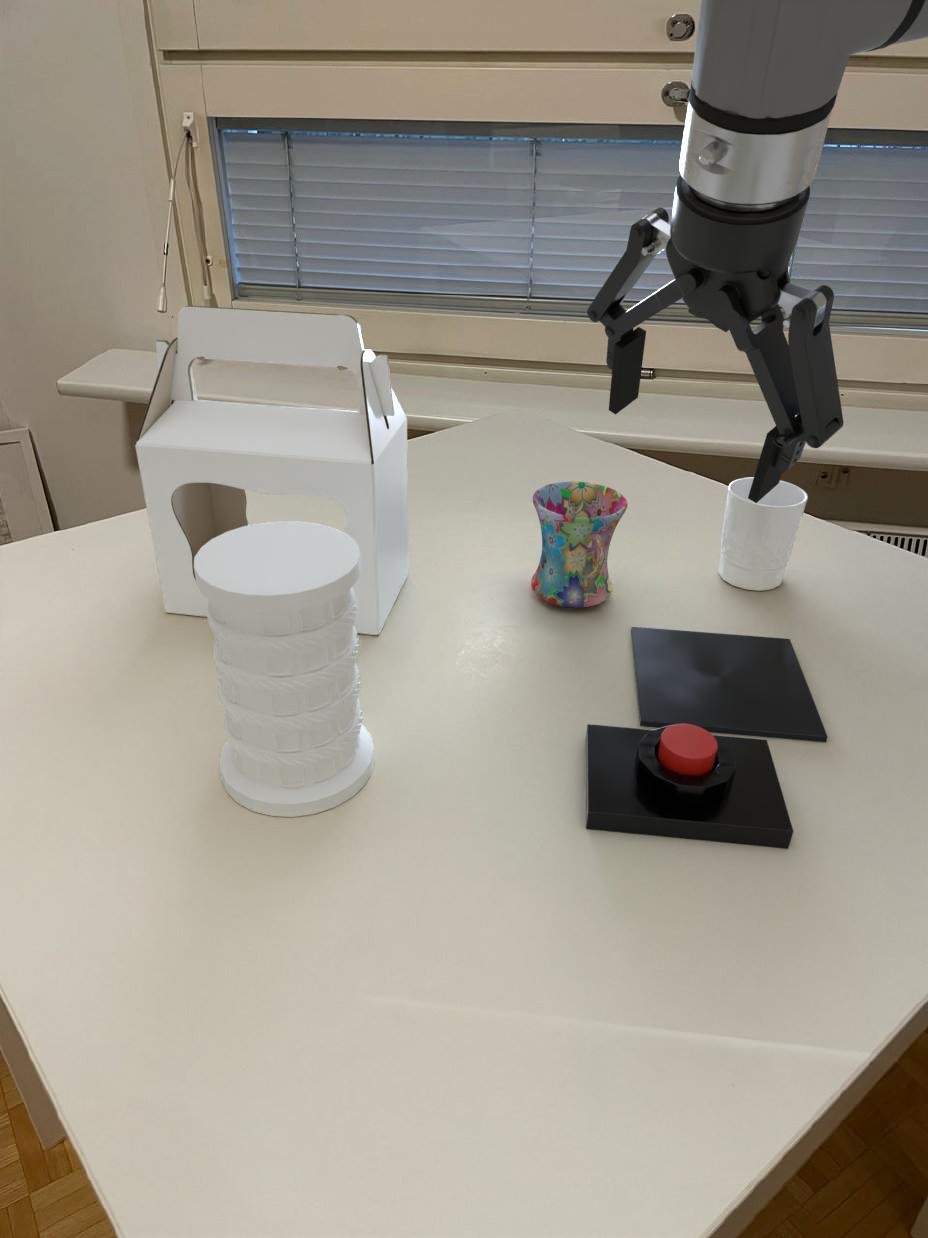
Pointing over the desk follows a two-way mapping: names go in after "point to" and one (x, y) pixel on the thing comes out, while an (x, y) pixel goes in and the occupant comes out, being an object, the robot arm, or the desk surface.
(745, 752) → the control block
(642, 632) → the plate
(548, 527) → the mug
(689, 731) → the button
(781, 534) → the white cup
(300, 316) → the gable box
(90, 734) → the desk surface
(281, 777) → the decorative container
